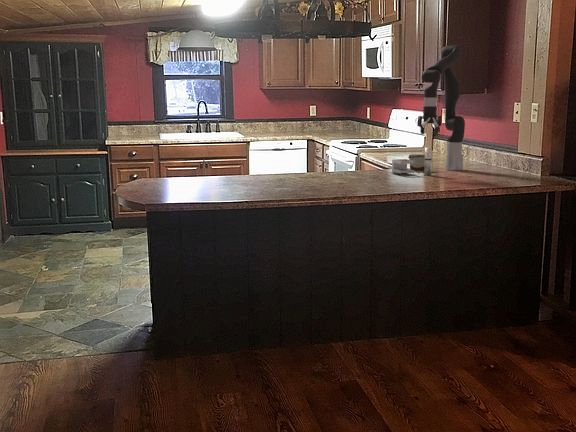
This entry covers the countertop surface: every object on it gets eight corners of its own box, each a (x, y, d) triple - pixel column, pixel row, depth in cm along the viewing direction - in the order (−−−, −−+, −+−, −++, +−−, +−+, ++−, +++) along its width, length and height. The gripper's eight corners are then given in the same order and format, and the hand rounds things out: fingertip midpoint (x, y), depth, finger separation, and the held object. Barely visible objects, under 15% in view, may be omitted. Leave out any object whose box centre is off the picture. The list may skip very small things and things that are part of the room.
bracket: (403, 172, 392) (404, 158, 391) (414, 175, 380) (414, 160, 378) (390, 173, 389) (390, 159, 388) (400, 176, 377) (400, 161, 376)
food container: (427, 170, 404) (427, 154, 402) (428, 171, 398) (428, 155, 396) (407, 170, 405) (407, 154, 403) (407, 171, 399) (408, 155, 397)
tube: (429, 174, 383) (429, 147, 379) (432, 175, 379) (433, 148, 376) (422, 175, 381) (423, 147, 378) (426, 175, 377) (427, 148, 374)
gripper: (437, 105, 378) (436, 133, 381) (415, 105, 374) (414, 133, 377) (444, 105, 371) (443, 134, 374) (422, 105, 367) (421, 134, 370)
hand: (429, 133), depth 375 cm, fingers open, 8 cm apart
